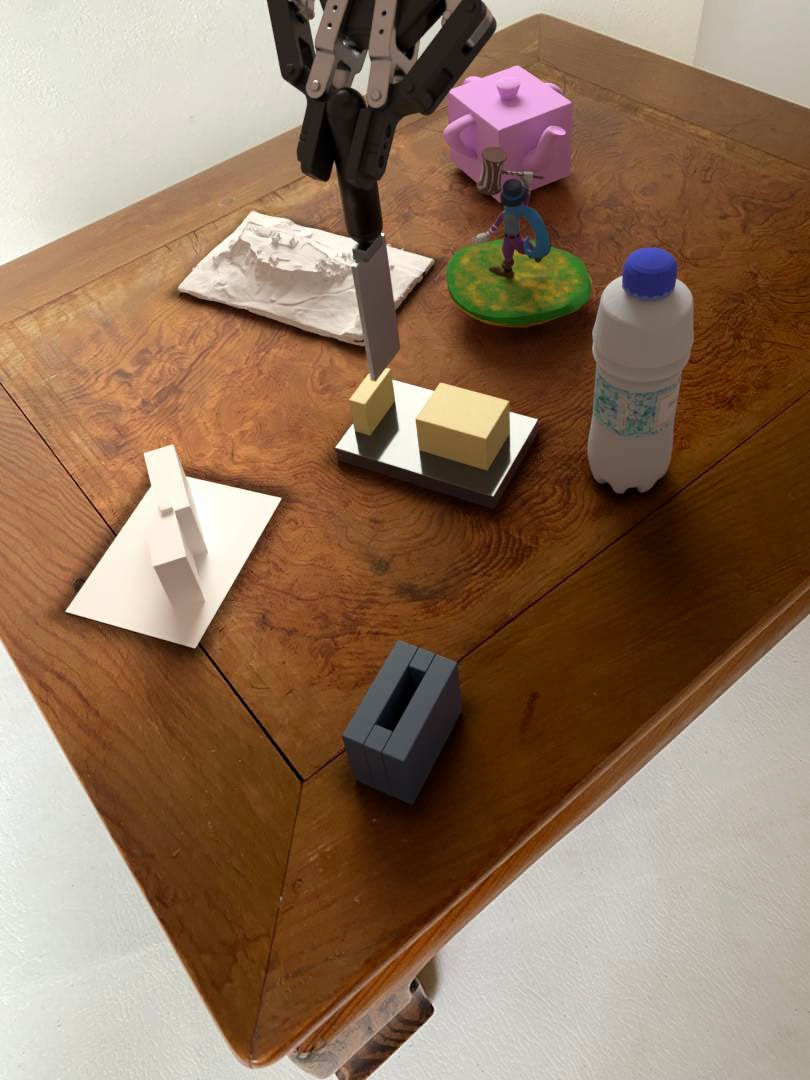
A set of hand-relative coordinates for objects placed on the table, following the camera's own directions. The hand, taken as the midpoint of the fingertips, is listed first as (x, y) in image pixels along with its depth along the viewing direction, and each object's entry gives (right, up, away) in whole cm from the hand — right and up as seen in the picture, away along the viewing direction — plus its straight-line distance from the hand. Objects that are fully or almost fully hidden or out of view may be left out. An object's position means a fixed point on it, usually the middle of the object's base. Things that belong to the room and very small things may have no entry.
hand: (336, 180), depth 54 cm
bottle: (+21, -14, +24) cm, 35 cm away
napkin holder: (-14, -21, +23) cm, 34 cm away
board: (+6, -12, +27) cm, 30 cm away
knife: (+2, -8, +12) cm, 15 cm away
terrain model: (-6, +6, +43) cm, 44 cm away
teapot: (+15, +18, +51) cm, 56 cm away
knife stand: (+4, -33, +10) cm, 35 cm away
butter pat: (+1, -9, +28) cm, 30 cm away
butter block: (+9, -12, +25) cm, 29 cm away
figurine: (+14, +2, +38) cm, 40 cm away
